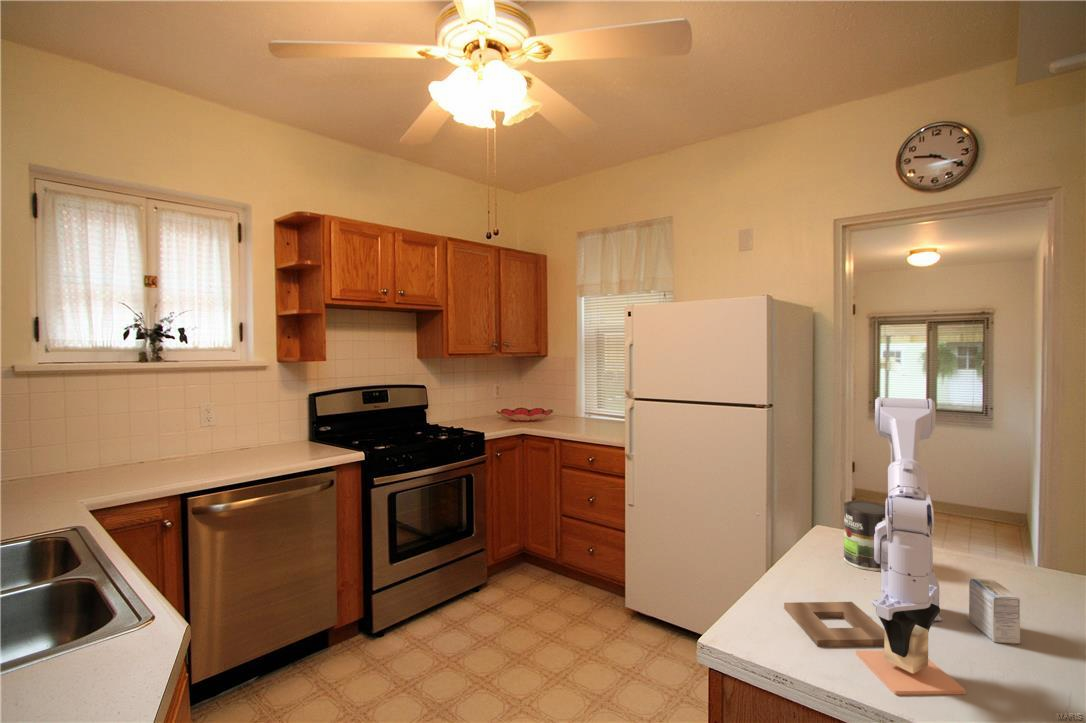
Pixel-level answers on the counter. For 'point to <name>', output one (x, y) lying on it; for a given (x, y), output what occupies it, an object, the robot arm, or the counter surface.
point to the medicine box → (994, 610)
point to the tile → (910, 677)
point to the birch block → (910, 651)
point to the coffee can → (861, 533)
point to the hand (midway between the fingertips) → (907, 649)
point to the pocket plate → (821, 635)
